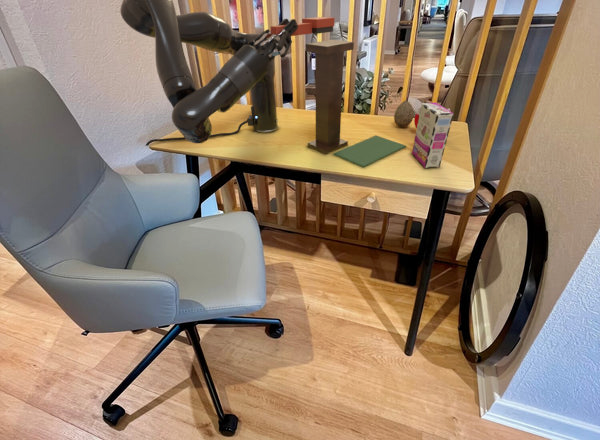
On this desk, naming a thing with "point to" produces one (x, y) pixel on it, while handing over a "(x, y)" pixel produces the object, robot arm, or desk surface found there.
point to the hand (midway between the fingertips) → (291, 22)
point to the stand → (328, 93)
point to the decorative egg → (404, 114)
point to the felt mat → (369, 151)
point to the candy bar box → (431, 134)
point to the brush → (309, 26)
